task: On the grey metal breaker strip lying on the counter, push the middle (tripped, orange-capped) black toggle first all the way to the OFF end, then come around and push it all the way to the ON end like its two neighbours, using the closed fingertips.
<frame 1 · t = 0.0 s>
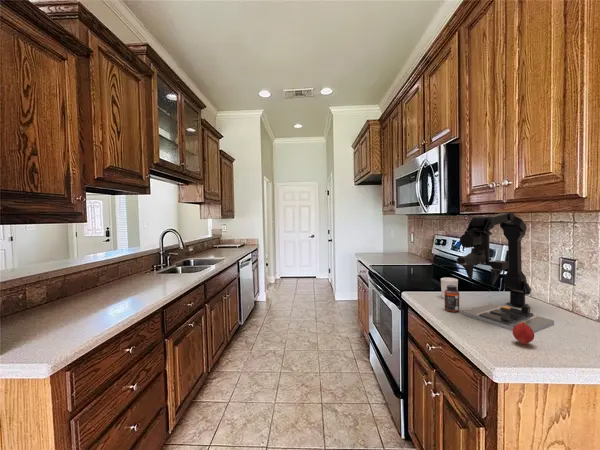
hand: (481, 282, 121), 15 cm above the counter, fingers open, 9 cm apart
breaker panel: (506, 319, 118), on the counter
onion: (523, 344, 96), on the counter
tripped breaker handle: (506, 310, 118), point 4 cm above the counter, slide at 3.5 cm
supplement bottle: (451, 310, 130), on the counter
white cup: (449, 298, 148), on the counter
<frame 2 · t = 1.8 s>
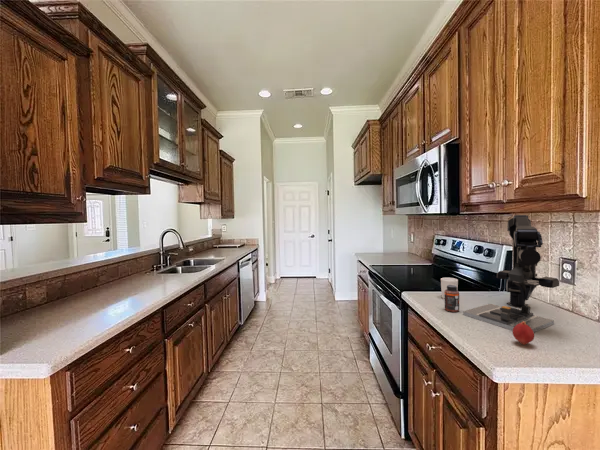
hand: (525, 300, 112), 10 cm above the counter, fingers closed
nothing on the counter moved.
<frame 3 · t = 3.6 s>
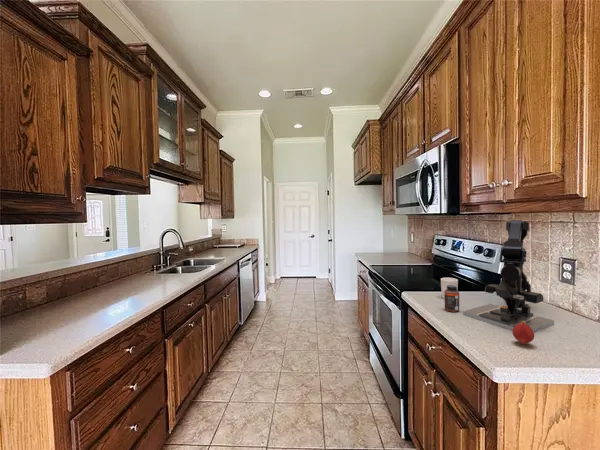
hand: (512, 313, 116), 3 cm above the counter, fingers closed
tripped breaker handle: (505, 309, 118), point 4 cm above the counter, slide at 3.1 cm, touching gripper
everything else where it was.
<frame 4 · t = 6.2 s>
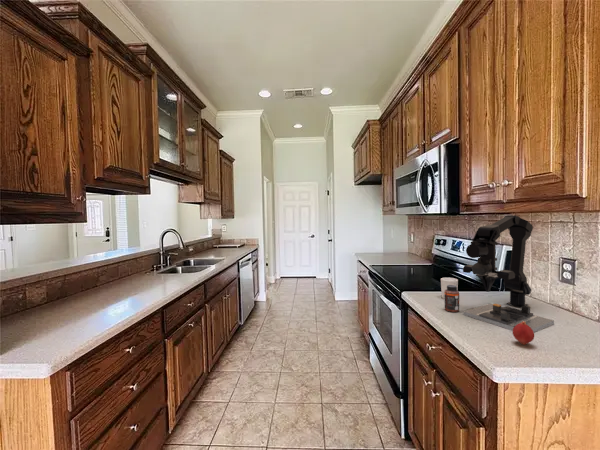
hand: (487, 291, 124), 10 cm above the counter, fingers closed
tripped breaker handle: (497, 307, 121), point 4 cm above the counter, slide at -0.1 cm
everything else where it was.
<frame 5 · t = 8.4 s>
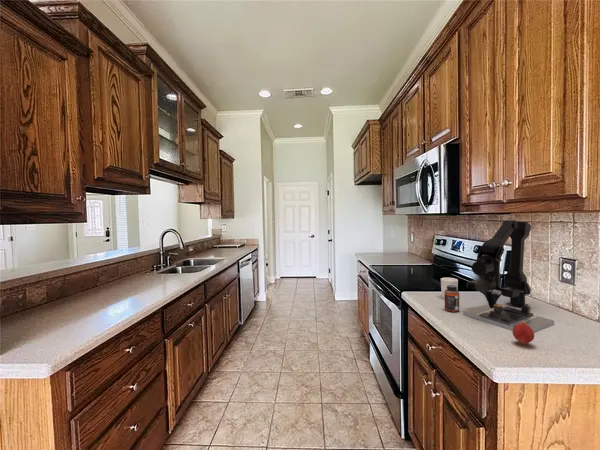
hand: (491, 308, 123), 3 cm above the counter, fingers closed
tripped breaker handle: (498, 307, 121), point 4 cm above the counter, slide at 0.3 cm, touching gripper
everything else where it was.
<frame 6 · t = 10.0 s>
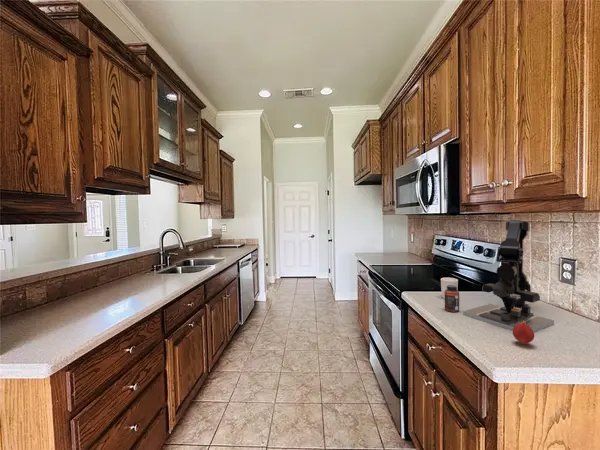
hand: (509, 312, 117), 3 cm above the counter, fingers closed
tripped breaker handle: (515, 312, 115), point 4 cm above the counter, slide at 7.1 cm, touching gripper
everything else where it was.
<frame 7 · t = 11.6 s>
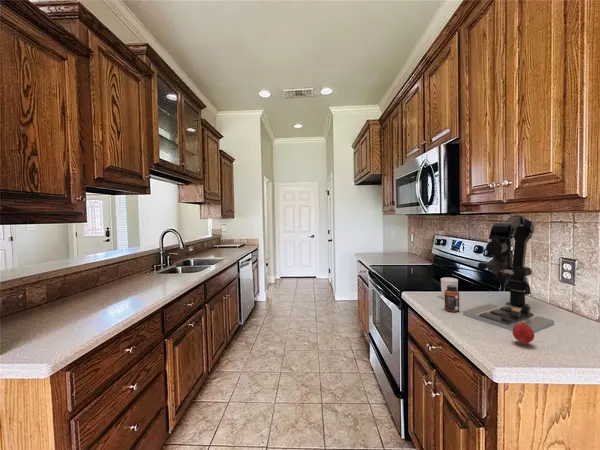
hand: (503, 288, 123), 12 cm above the counter, fingers closed
tripped breaker handle: (515, 312, 115), point 4 cm above the counter, slide at 7.1 cm
everything else where it was.
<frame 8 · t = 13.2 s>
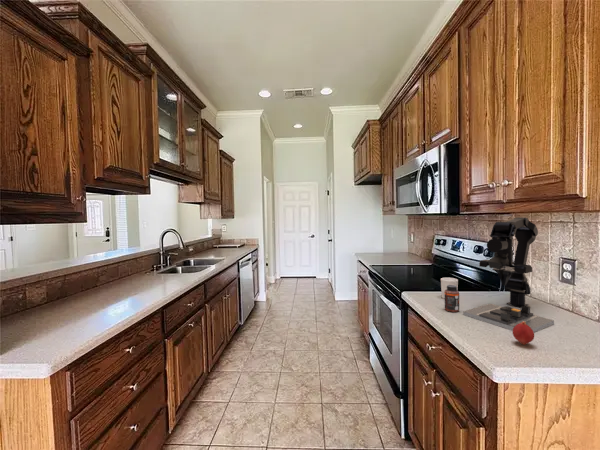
hand: (504, 285, 126), 12 cm above the counter, fingers closed
nothing on the counter moved.
at the end: tripped breaker handle slide at 7.1 cm; tripped breaker handle moved 3.6 cm from its start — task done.
